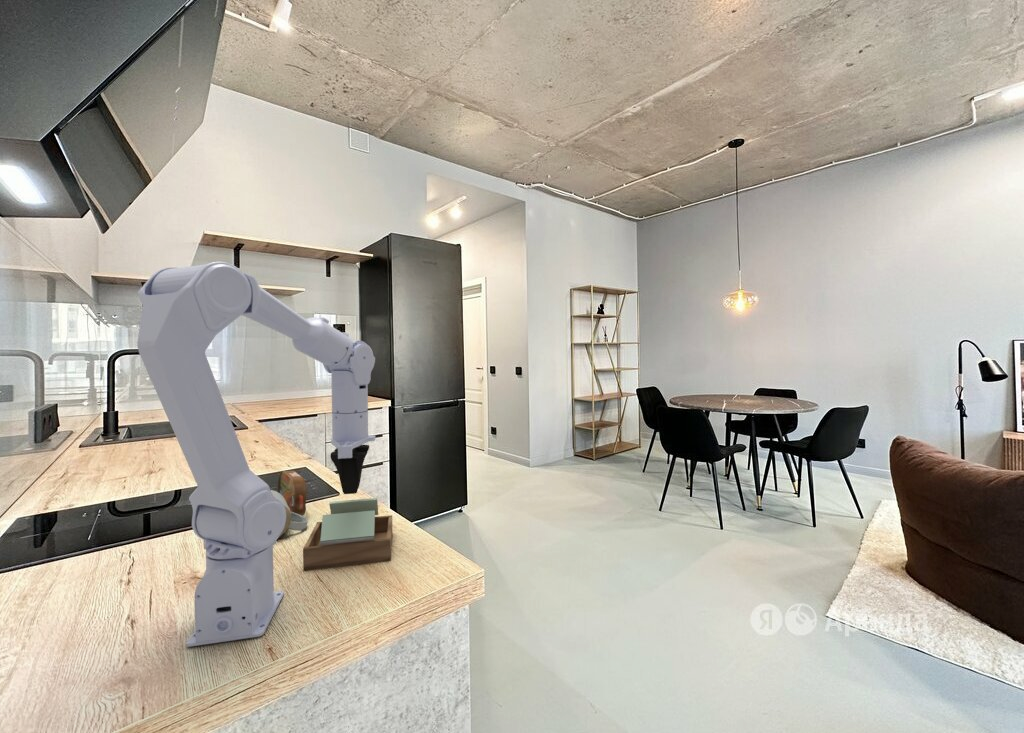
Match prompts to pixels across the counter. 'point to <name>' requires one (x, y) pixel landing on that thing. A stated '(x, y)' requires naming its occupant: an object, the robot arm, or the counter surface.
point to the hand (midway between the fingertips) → (351, 491)
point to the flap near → (347, 527)
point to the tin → (293, 491)
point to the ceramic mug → (291, 516)
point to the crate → (349, 548)
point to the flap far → (354, 506)
